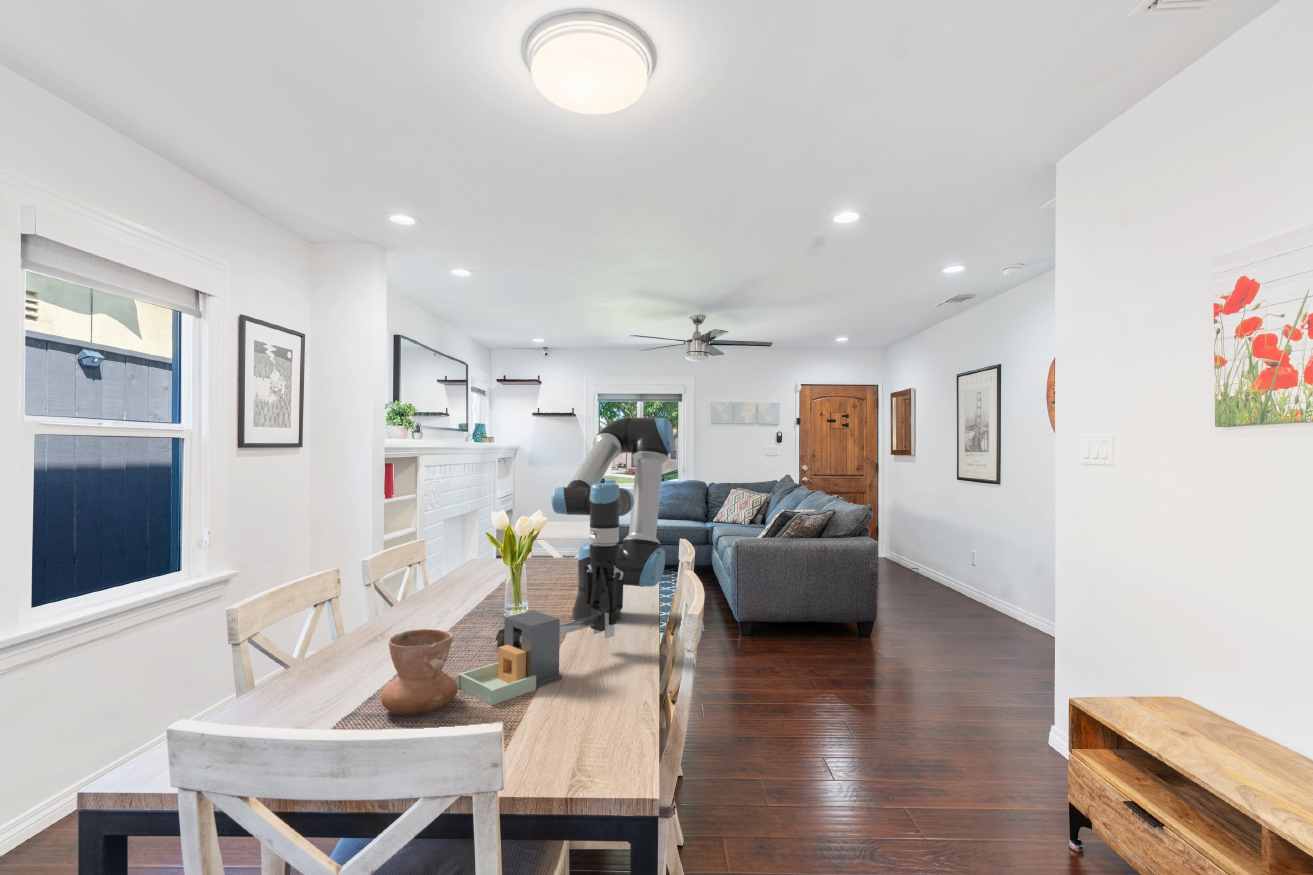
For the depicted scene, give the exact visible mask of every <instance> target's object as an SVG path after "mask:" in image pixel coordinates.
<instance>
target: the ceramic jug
mask: <svg viewBox="0 0 1313 875" xmlns="http://www.w3.org/2000/svg"><path fill="white" fill-rule="evenodd" d="M452 643H453V633H452V632H450V631H446V630H439V629H430V628H429V629H427V628H426V629H424V628H422V629H412V630H411V629H410V630H407V631H406V630H405V631H403V632H399V633H396V634H393V636H391V637H390V638H389V639H388V647H389V648H388V649H389V654H390V658H391V661H392V663H393V665H394V668H395V671H396V674H397V675H396V677H394V679H392V680H391V681H389V683H387V684H386V685H385V687H383V689H382V691H381V694H380V701H381V704H382V706H383V707H384V708H385V710H386V711H388V712H390V713H393V714H395V715H400V716H411V717H412V716H420V715H421V716H422V715H425V714H429V713H433V712H437V711H438V710H440V709H442V708H444V707H446V706H447V705H449V704H450V703H451V702H452V701H453V700H454V699H455V698H456V696H457V693H458V690H459V689H458V686H457V681H456V680H455V678H454V677H452V676H451V675H449V674H448V673H446V672H445V671H443V668H444V666H445V664H446V661H447V659H448V656H449V653H450V650H451V647H452Z"/></svg>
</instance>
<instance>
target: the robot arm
mask: <svg viewBox="0 0 1313 875" xmlns="http://www.w3.org/2000/svg"><path fill="white" fill-rule="evenodd" d="M674 434H675V433H674V430H673V426H672V423H671V421H670V420H669V418H666V417H658V416H657V417H656V416H655V417H622V418H618V419H617V420H614V421H612V422H610V423H608V424H607V425H606V426H604V427H603V428H602V429H601V430H600V431H599V432H598V433H597V434H596V436H595V437H594V439H593V441H592V448H591V449H590V450H589V452H588V453H587V455H586V457H585V459H584V460H583V462H582V463H581V465H580V466H579V468H578V469H577V471H576V472H575V474H574V476H573V477H572V479H571V480H570V481H569V483H568V485H567V486H562V487H561V486H560V487H557V488H555V489H554V490H553V492H552V494H551V499H550V500H551V506H552V511H553V512H554V513H555V514H559V515H566V516H589V543H588V542H587V543H584V544H582V545H581V546H579V548H578V558H577V562H578V563H577V595H576V598H575V601H574V606H573V607H572V609H571V618H572V619H573V621H575V620H579V619H583V618H586V617H590V616H591V608H595V607H599V606H605V607H607V610H606V611H605V631H604V639H609V638H612V637H613V638H614V637H615V625H616V623H617V620H619V619H620V618H621V617H622V610H623V606H624V605H623V604H624V602H623V601H624V600H623V599H624V586H634V587H641V588H644V587H655V586H656V585H658V584H659V583H660V581H661V579H662V577H663V574H664V570H665V566H666V550H664V548H662V547H661V542H660V541H659V539H658V538H657V531H658V521H659V520H658V519H659V508H660V498H661V497H660V496H661V485H662V484H661V483H662V474H663V465H664V464H665V463H666V462H667V461H668V459H669V454H670V455H671V454H673V453H674V452H675V447H676V446H675V435H674ZM627 453H628V454H629V453H630V454H631V457H632V459H633V460H634V461H635V472H634V481H633V487H632V488H633V490H632V492H631V491H630V490H628V489H626V488H623V487H620V486H619V484H618V483H611V482H610V483H609V482H601V481H602V480H603V478H604V477H605V475H606V472H607V471H608V469H609V468H610V465H611V464H612V462H613V460H615V459H616V458H618V457H619V456H620V454H627ZM628 513H630V518H629V529H628V534H627V536H625V538H623V539H622V540H623V541H622V545H619V544H618V543H619V542H620V517H623V516H626V515H627V514H628ZM602 632H603V631H598V630H595V629H591V635H597V634H600V633H602Z"/></svg>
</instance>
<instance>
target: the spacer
mask: <svg viewBox="0 0 1313 875" xmlns="http://www.w3.org/2000/svg"><path fill="white" fill-rule="evenodd" d="M497 651H498V652H497V655H498V656H497V662H498V679H500V680H502V681H504V682H507V683H512V682H515V681H518V680H521V679H524V678H526V651H523V650H520V649H518V648H515V647H513V646H510V645H505V646H501V647H498V648H497Z"/></svg>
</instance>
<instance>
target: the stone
mask: <svg viewBox="0 0 1313 875" xmlns="http://www.w3.org/2000/svg"><path fill="white" fill-rule="evenodd" d="M495 641H496V642H497V643H496V647H497V649H498V647H501V646H504V628H502V629H501V628H500V629H499V630H498V632H497V634H496V635H495Z"/></svg>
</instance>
